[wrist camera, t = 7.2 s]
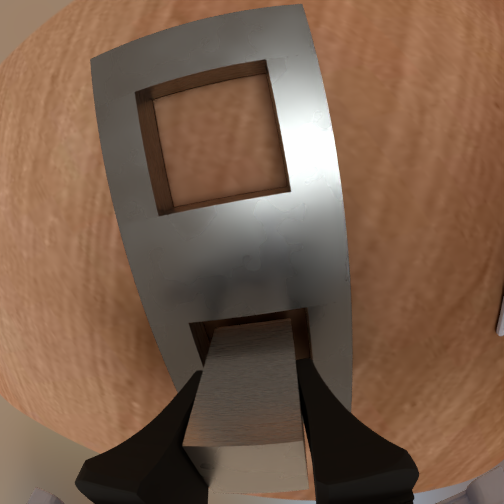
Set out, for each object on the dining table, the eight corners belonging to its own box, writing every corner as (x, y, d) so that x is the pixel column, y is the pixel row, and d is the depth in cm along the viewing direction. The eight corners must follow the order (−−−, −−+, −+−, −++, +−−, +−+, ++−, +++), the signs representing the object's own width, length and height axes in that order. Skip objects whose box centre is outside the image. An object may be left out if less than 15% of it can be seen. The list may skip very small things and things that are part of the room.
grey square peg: (290, 318, 14) (302, 440, 7) (298, 374, 15) (308, 489, 8) (215, 327, 14) (181, 445, 8) (231, 381, 15) (213, 493, 9)
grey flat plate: (297, 22, 10) (302, 4, 8) (344, 391, 16) (350, 414, 14) (110, 68, 11) (90, 59, 9) (201, 407, 17) (196, 430, 15)
